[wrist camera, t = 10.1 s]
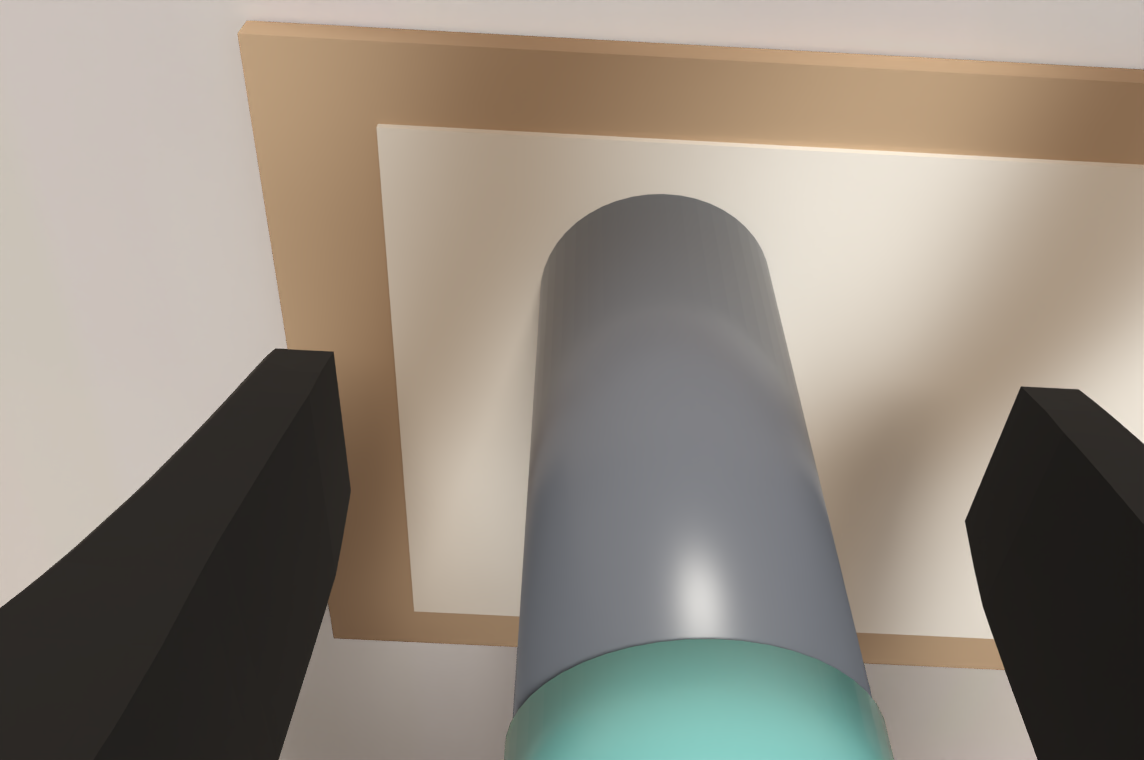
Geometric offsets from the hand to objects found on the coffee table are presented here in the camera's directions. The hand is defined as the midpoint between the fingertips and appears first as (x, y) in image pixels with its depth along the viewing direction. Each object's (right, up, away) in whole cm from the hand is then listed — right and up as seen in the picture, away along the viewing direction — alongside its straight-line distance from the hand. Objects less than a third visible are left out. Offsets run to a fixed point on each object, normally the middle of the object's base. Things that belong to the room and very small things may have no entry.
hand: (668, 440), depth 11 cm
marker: (0, +2, +2) cm, 3 cm away
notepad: (+4, 0, +4) cm, 6 cm away
